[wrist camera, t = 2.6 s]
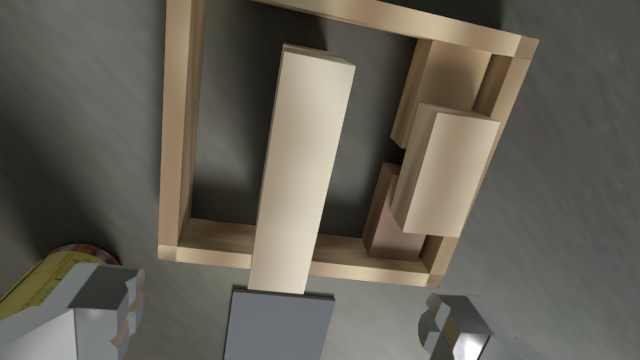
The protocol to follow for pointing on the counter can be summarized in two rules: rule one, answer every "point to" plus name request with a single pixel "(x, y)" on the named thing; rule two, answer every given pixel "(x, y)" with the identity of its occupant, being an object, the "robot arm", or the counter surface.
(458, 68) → the offcut oak
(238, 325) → the felt pad
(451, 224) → the offcut beech
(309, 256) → the pale wooden block
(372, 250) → the offcut walnut
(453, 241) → the wooden tray
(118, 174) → the counter surface
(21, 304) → the sauce bottle
